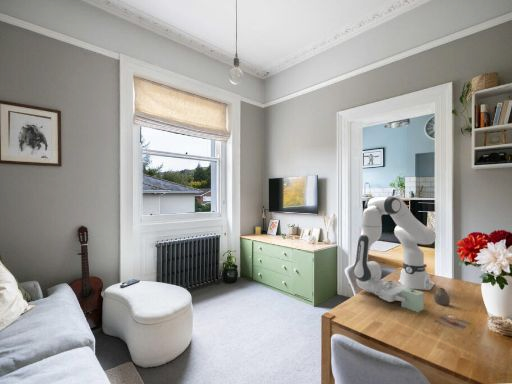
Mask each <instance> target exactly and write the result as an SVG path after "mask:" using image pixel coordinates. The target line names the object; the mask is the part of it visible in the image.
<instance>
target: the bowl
mask: <svg viewBox="0 0 512 384" xmlns="http://www.w3.org/2000/svg"><path fill="white" fill-rule="evenodd" d="M446 315H447V317H448V322H450V323H452V324H456V320H457V319H458V318H457V316H455V315H453V314H446Z"/></svg>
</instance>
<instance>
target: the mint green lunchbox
mask: <svg viewBox="0 0 512 384" xmlns="http://www.w3.org/2000/svg"><path fill="white" fill-rule="evenodd" d="M401 297H404V298H406V301H405V302H403V301H400V302H401V304H400V306H401V307H402V308H405V309H408V310H411V311H413V312H416V313H420V312H422V311H424V309H425V307H424V306H425V305H424V304H425V301H424V300H425V294H424V292H423V291H419V290H418V289H413V288H405V289H403V290H401Z"/></svg>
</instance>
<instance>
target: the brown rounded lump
mask: <svg viewBox="0 0 512 384" xmlns="http://www.w3.org/2000/svg"><path fill="white" fill-rule="evenodd" d="M433 299H434V303H436V304H438V305H440V306H444V307H445V306H449V305H450V303H451V297H450V295H449V293H448V292H447V291H446V290H445V288H443V287H438V289H437V290H436V291H434V294H433Z"/></svg>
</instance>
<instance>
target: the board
mask: <svg viewBox="0 0 512 384" xmlns="http://www.w3.org/2000/svg"><path fill="white" fill-rule="evenodd" d="M447 315H448V314H446V313H445V314H443V315H441V316H439V317H437V318H436V319H434V323H435V322H436V323H438V324H439V325H440V324H441V325H443V326H445V327H448V328H451V329H454V330H456V331H459V332H461V331H462V330H464V329H465V328H466V327H468V326H469V325H471V322H468V321H467V320H463V319H460V318H457V320H456V324H452V323H450V322H448V317H447Z"/></svg>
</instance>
